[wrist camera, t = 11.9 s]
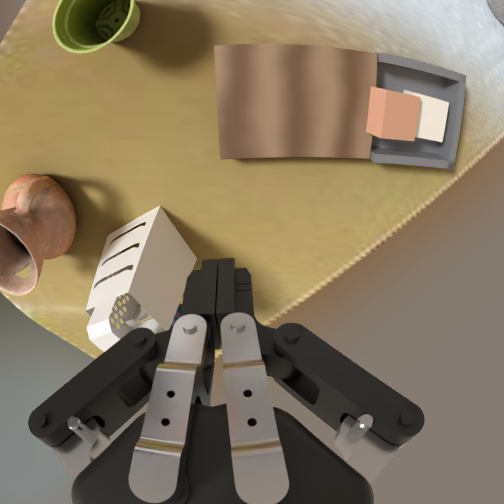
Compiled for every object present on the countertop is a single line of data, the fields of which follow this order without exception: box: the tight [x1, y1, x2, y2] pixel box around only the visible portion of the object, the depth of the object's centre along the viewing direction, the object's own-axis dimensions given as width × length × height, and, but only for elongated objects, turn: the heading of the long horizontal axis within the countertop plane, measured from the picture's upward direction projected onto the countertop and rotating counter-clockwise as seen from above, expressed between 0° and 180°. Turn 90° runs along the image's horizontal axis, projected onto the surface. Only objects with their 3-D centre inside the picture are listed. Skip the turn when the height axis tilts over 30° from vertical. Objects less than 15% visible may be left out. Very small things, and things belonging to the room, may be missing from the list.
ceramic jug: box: [0, 174, 76, 295], centre depth 34 cm, size 18×14×14 cm
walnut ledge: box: [215, 44, 377, 159], centre depth 33 cm, size 19×14×3 cm
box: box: [370, 53, 466, 169], centre depth 33 cm, size 14×14×4 cm
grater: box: [86, 206, 197, 352], centre depth 37 cm, size 10×10×20 cm
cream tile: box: [403, 90, 449, 142], centre depth 33 cm, size 6×6×3 cm
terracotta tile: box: [366, 86, 421, 141], centre depth 31 cm, size 6×6×3 cm
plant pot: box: [53, 0, 141, 53], centre depth 22 cm, size 9×9×9 cm
